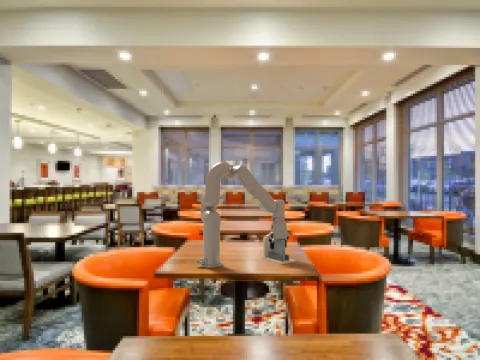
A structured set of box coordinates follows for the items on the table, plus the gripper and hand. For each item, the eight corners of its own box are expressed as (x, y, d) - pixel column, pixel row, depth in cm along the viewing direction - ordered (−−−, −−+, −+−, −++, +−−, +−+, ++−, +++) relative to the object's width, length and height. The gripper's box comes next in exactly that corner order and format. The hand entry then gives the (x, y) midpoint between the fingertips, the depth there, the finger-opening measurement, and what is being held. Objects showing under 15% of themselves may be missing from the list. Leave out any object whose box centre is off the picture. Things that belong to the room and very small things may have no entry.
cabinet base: (281, 264, 181) (281, 242, 181) (263, 258, 196) (263, 237, 196) (297, 261, 187) (297, 240, 187) (278, 255, 202) (278, 235, 202)
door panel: (280, 260, 185) (280, 240, 185) (270, 257, 194) (270, 238, 194) (285, 260, 187) (285, 240, 187) (274, 256, 196) (275, 237, 196)
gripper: (270, 221, 183) (270, 250, 183) (293, 219, 192) (293, 247, 192) (263, 220, 190) (263, 248, 190) (285, 218, 199) (285, 245, 199)
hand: (278, 248), depth 191 cm, fingers open, 9 cm apart
